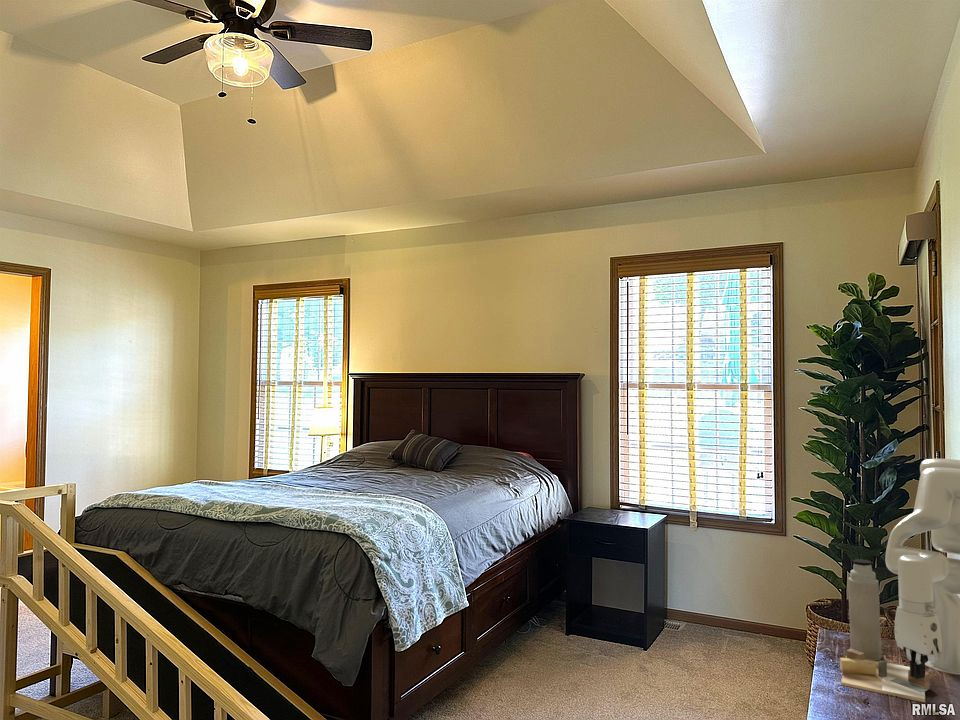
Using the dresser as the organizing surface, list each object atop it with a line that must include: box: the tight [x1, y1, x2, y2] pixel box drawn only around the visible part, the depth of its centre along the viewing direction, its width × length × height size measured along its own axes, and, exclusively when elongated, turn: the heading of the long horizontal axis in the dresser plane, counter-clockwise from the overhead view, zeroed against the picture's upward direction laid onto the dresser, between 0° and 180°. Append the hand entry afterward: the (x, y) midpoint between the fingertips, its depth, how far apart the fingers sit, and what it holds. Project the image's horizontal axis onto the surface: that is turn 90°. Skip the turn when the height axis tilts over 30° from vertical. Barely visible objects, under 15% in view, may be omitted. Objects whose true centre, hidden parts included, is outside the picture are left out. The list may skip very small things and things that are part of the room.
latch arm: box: [839, 657, 876, 675], centre depth 192 cm, size 8×2×3 cm, turn 78°
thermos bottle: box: [847, 558, 882, 661], centre depth 208 cm, size 8×8×28 cm
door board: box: [840, 648, 931, 703], centre depth 191 cm, size 21×20×5 cm
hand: (917, 676), depth 178 cm, fingers closed
